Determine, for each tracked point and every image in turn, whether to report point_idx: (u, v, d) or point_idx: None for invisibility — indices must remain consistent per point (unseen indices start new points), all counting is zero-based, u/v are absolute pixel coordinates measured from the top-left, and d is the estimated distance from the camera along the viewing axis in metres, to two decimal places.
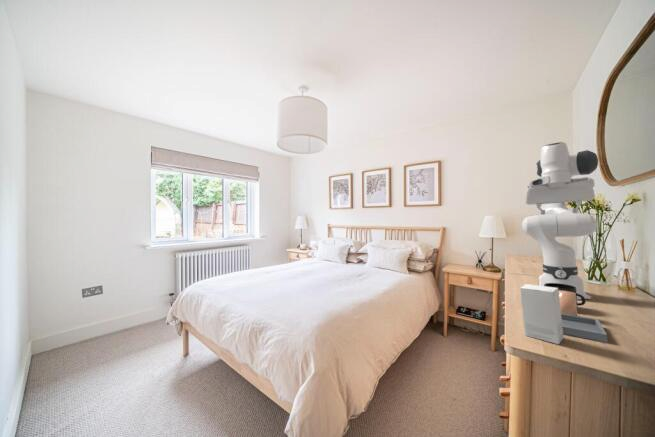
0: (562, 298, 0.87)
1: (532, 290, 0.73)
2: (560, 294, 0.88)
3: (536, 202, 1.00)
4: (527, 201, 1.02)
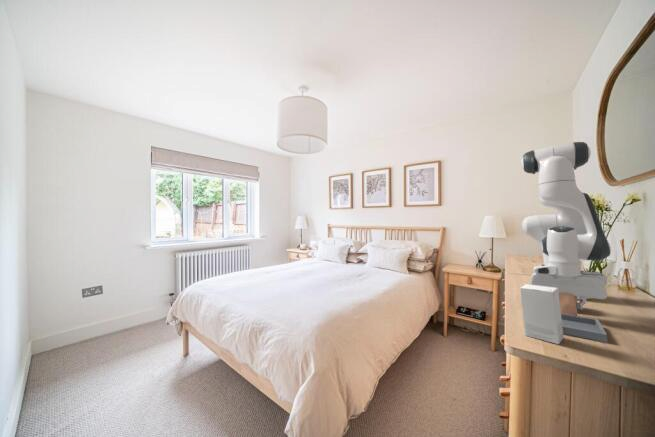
0: (562, 298, 0.87)
1: (532, 290, 0.73)
2: (560, 294, 0.88)
3: None
4: None
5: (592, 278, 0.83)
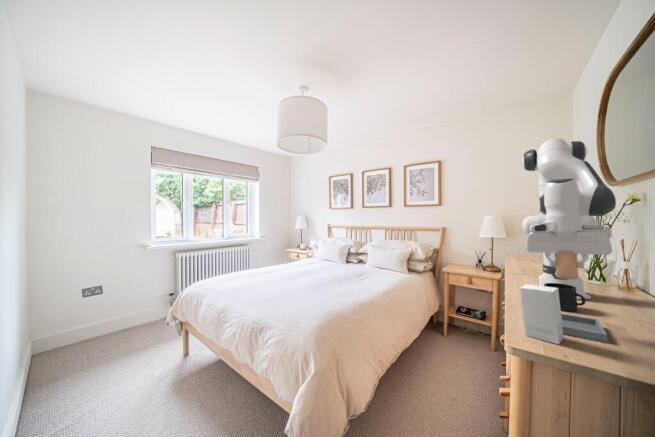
0: (561, 257, 0.78)
1: (532, 290, 0.73)
2: (559, 253, 0.79)
3: (539, 251, 0.82)
4: (528, 249, 0.84)
5: (595, 232, 0.74)
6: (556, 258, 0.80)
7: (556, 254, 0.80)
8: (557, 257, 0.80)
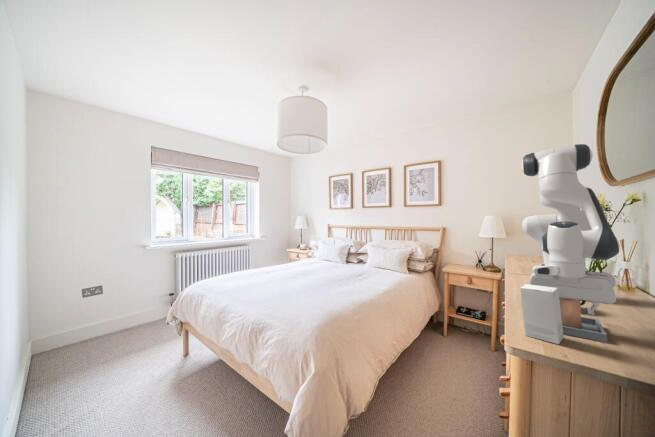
0: (565, 307, 0.78)
1: (532, 290, 0.73)
2: (562, 302, 0.78)
3: None
4: None
5: (599, 279, 0.73)
6: None
7: None
8: (560, 306, 0.79)
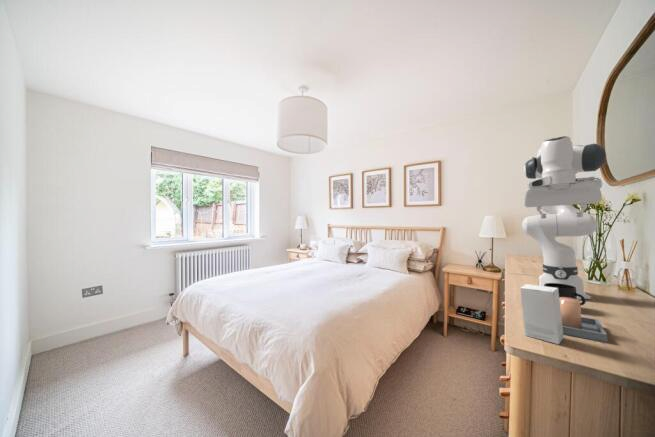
0: (565, 307, 0.78)
1: (532, 290, 0.73)
2: (562, 302, 0.78)
3: (536, 205, 0.90)
4: (526, 204, 0.92)
5: (587, 183, 0.81)
6: None
7: None
8: (560, 306, 0.79)
